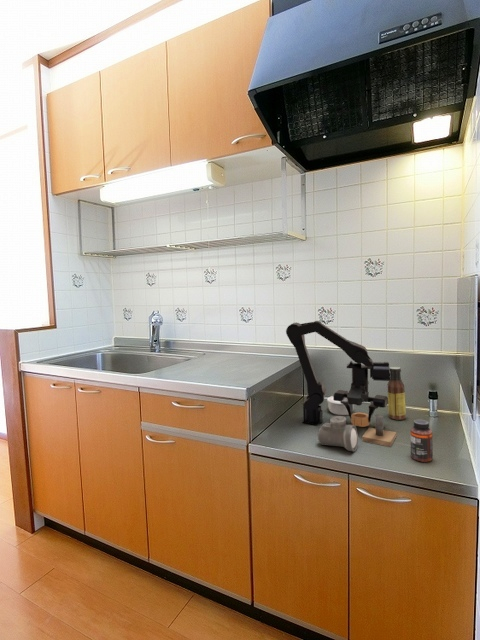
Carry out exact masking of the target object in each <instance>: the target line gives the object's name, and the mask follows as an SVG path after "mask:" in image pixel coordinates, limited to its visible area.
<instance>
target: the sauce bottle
mask: <svg viewBox="0 0 480 640" xmlns="http://www.w3.org/2000/svg"><path fill="white" fill-rule="evenodd" d="M389 371H390V381H387V398H388V404H387V407H388V408H387V409H388V410H387V411H388V417H389V418H390V419H392V420H397V421H402V420H405V419H406V414H407V411H406V410H407V409H406V390H405V385H404V383H403V381H402V375H401V372H402V369H401V367H400V366H389Z"/></svg>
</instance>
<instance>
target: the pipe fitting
mask: <svg viewBox="0 0 480 640" xmlns="http://www.w3.org/2000/svg"><path fill="white" fill-rule="evenodd" d="M317 439H318V442H319V443H320V445H322V446H332V447H342V448H344V449H345V450H347V451H348V452H356V450H357V448H358V445H359V433H358V429H357V426H355V425H353V424H347V418H346V417H345V416H344V415H335V416H333V417H330V419H329V422H324V423H323V424H322V426H320V427H319V430H318V431H317Z"/></svg>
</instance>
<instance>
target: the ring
mask: <svg viewBox="0 0 480 640" xmlns="http://www.w3.org/2000/svg"><path fill="white" fill-rule="evenodd" d="M368 416H369V413H364V412H353V414H352V415H351V419H350V421H351V422H350V423H351V425H355V426H356V427H362V428H363V427H369V425H370V424H371V422H370V423H369V422H368Z"/></svg>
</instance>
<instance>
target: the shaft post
mask: <svg viewBox="0 0 480 640" xmlns="http://www.w3.org/2000/svg"><path fill="white" fill-rule="evenodd" d="M361 438H362V439H361V440H362V442H366V443H371V444H374V445H381V446H385V447H390V448H391V447H392V445H393V444H394V441H395V440H396V438H397V432H396V431H390V430H384V415H382V414H376V415H375V428H373V427H368V429H367V430H366V431H365V432H364V434H363V435H362V436H361Z"/></svg>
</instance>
